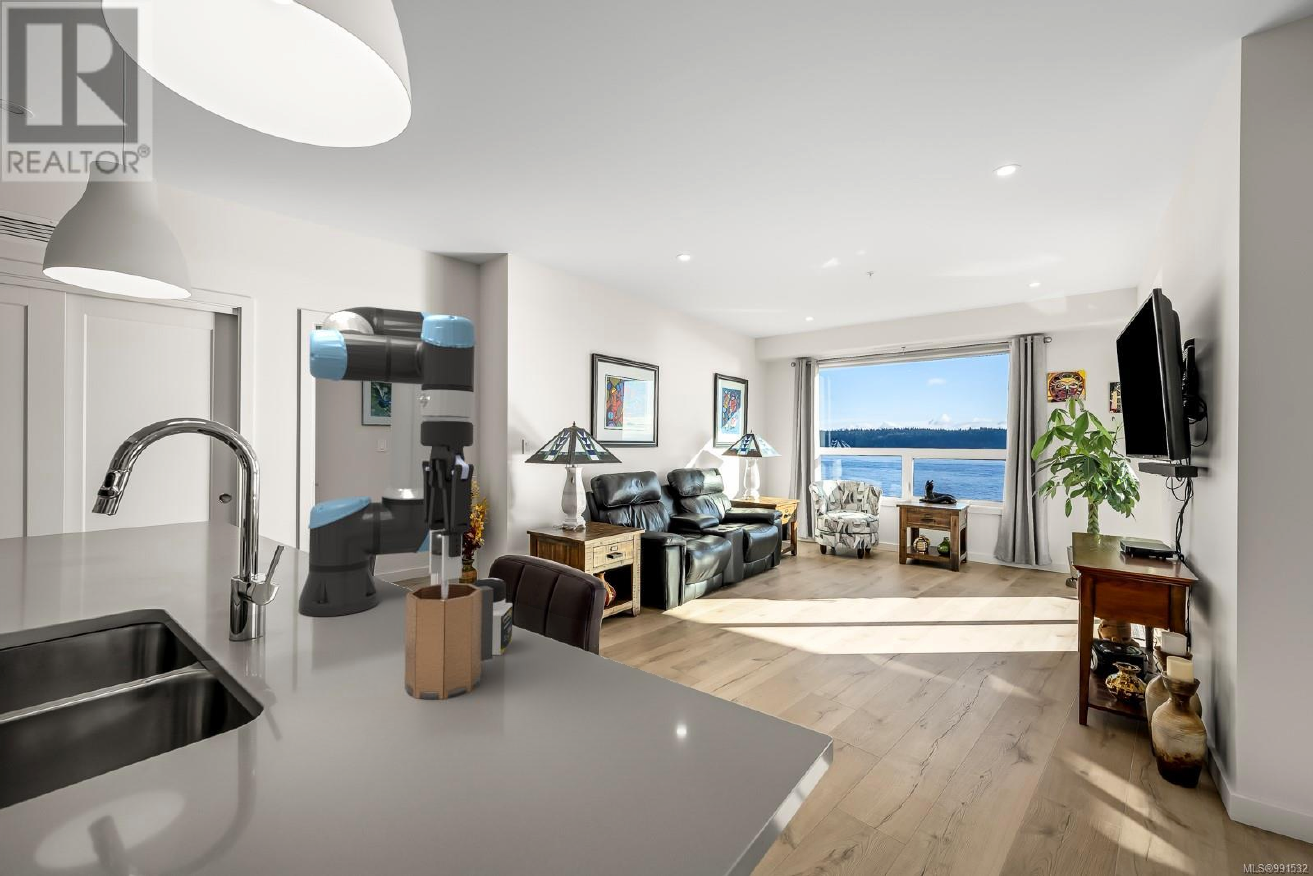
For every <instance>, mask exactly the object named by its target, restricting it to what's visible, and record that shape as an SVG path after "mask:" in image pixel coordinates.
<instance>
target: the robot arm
mask: <svg viewBox="0 0 1313 876" xmlns="http://www.w3.org/2000/svg"><path fill="white" fill-rule="evenodd" d="M476 345H477V341H476V338H475V325H474V323H473V321H471V320H470V319H468V318H465V317H463V316H458V315H447V314H434V313H433V314H432V313H428V312H423V311H416V310H415V311H413V310H403V309H402V310H401V309H390V308H384V307H383V308H381V307H374V306H357V307H350V308H345V309H341V310H338V311H336V312H334V313H332V314H330V315H329V316H327V317H326V319H324V321H323V323H322V324H321V327H320V329H314V330H313V331H312V332H311V333H310V334H309V373H310V375H311V376H312V377H313V378H316V379H321V380H331V381H333V382H339V381H350V382H352V381H353V382H372V383H373V382H374V383H375V382H376V383H388V384H391V394H390V395H391V397H390V398H391V404H390V405H391V407H390V441H389V442H390V443H389V444H390V445H389V446H390V448H389V449H390V451H389V453H390V454H389V485H388V487H387V488H386V490H384V491H383V492H382V493H381V501H378V502H372V498H371V497H370V496H368V495H361V496H356V495H355V496H348V497H341V498H340V497H339V498H336V499H335V498H334V499H331V500H326V501H322V502H319V503H316V504H314V506H312V508H311V510H310V512H309V513H310V514H309V523H308V524H309V525H308V530H309V544H308V547H309V548H308V549H309V552H308V575H307V578H306V581H305V583H304V585H303V588H302V590H301V593H300V596H299V599H298V613H300V614H302V615H303V616H310V617H335V616H342V615H343V616H344V615H350V614H356V613H359V612H364V611H367V610H369V609H372V608H374V607H375V606H377V605H378V603H379V592H378V588H377V585H376V582H375V580H374V576H373V574H372V571H371V566H370V563H371V562H370V561H371V557H372V556H382V555H383V556H384V555H396V554H397V555H398V554H399V555H400V554H410V553H411V554H418V553H422V552H429V555H428V556H429V563H428V564H429V565H428V566H429V568H428V573H429V574H430V575H434V574H441V581H442V580H448V579H449V580H453V579H454V580H455V579H460V578H461V579H462V574H463V573H462V570H463V569H462V567H463V565H462V564H463V563H462V562H463V560H462V559H463V557H462V556H463V554H462V553H463V535H464V534H465V532H470V531H471V517H472V516H471V513H472V512H471V511H472V510H471V509H472V481H473V476H474V471H475V470H474V469H475V467H474V464H473V463H469V464H468V463H466V462H465V461H466V460H465V459H466V458H465V453H464V447H472V446H473V444H474V424H473V422H471V419H474V417H475V391H474V389H475V388H474V387H475V385H474V384H475V382H474V381H475V353H476V352H475V349H476ZM437 531H444V532H440V534H441V536H442V555H433V554H431V540H432V533H433V532H437Z"/></svg>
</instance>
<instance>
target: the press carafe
mask: <svg viewBox="0 0 1313 876" xmlns="http://www.w3.org/2000/svg"><path fill="white" fill-rule="evenodd" d="M404 641H405V650H404V656H405V659H404V660H405V661H404V690H405V691H406V693H407V694H408V695H409V696H410V697H413V698H414V699H418V700H426V701H427V700H429V701H430V700H431V701H433V700H441V701H442V700H448V699H451V698H452V699H453V698H456V697H460V696H462V695H464V694H467V693H470V692H472V691H473V690H474V689H475V688H477V686H478V685H479V683H480V681H481V677H482V671H481V670H482V662H484V661H488V660H492V659H493V655H492V644H493V588H490V587H488V586H482V587H476V586H474V585H472V583H455V582H454V583H453V582H451V583H450V582H449V585H448V599H447V600H441V583H438V584H437V583H435V584H431V585H424V586H419V587H416V588H414V589H412V590H411V591H409V592H408V593H406V594H405V640H404Z"/></svg>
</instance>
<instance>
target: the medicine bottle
mask: <svg viewBox="0 0 1313 876" xmlns="http://www.w3.org/2000/svg"><path fill="white" fill-rule="evenodd" d="M471 584H472V585H474V586H476V587H482V586H488V587H490V588H493V644H492V656H501V655H502V654H503V653H504V652H505V650H506V649H507V648H508V647H509V645H510V644H511V643H512V641H513V607H514V605H513V603H512V602H506V594H507V593H506V588H507V587H506V585H507V584H506V581H504V580H502V579H500V578H495V577H487V578H479V579H477V580H475V581H472V582H471Z"/></svg>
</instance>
